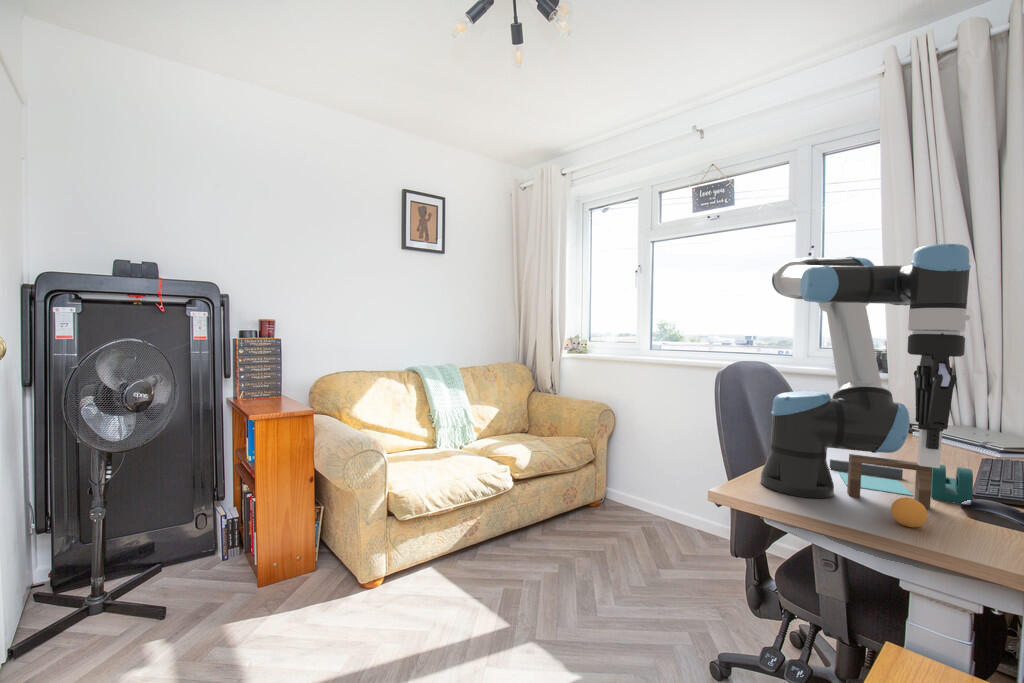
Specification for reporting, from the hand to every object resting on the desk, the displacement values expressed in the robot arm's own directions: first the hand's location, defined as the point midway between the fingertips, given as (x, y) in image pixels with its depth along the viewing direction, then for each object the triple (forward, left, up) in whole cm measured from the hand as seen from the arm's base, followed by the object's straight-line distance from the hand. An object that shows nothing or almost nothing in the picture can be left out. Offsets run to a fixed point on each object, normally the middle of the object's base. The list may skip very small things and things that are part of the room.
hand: (928, 465), depth 84 cm
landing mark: (0, +41, -14) cm, 43 cm away
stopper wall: (0, +51, -14) cm, 53 cm away
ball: (0, +10, -11) cm, 15 cm away
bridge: (0, +27, -14) cm, 30 cm away
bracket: (+15, +43, -15) cm, 47 cm away
